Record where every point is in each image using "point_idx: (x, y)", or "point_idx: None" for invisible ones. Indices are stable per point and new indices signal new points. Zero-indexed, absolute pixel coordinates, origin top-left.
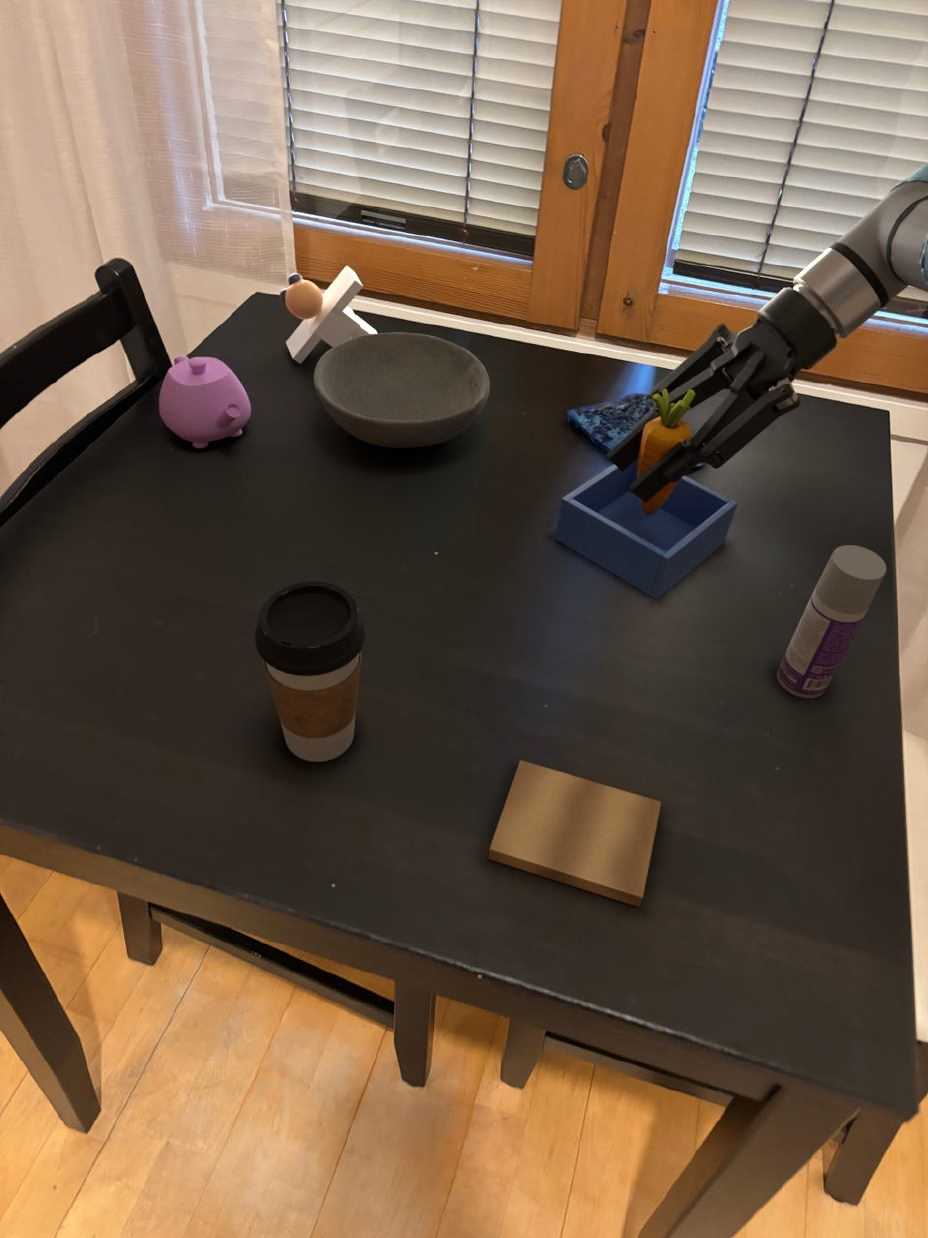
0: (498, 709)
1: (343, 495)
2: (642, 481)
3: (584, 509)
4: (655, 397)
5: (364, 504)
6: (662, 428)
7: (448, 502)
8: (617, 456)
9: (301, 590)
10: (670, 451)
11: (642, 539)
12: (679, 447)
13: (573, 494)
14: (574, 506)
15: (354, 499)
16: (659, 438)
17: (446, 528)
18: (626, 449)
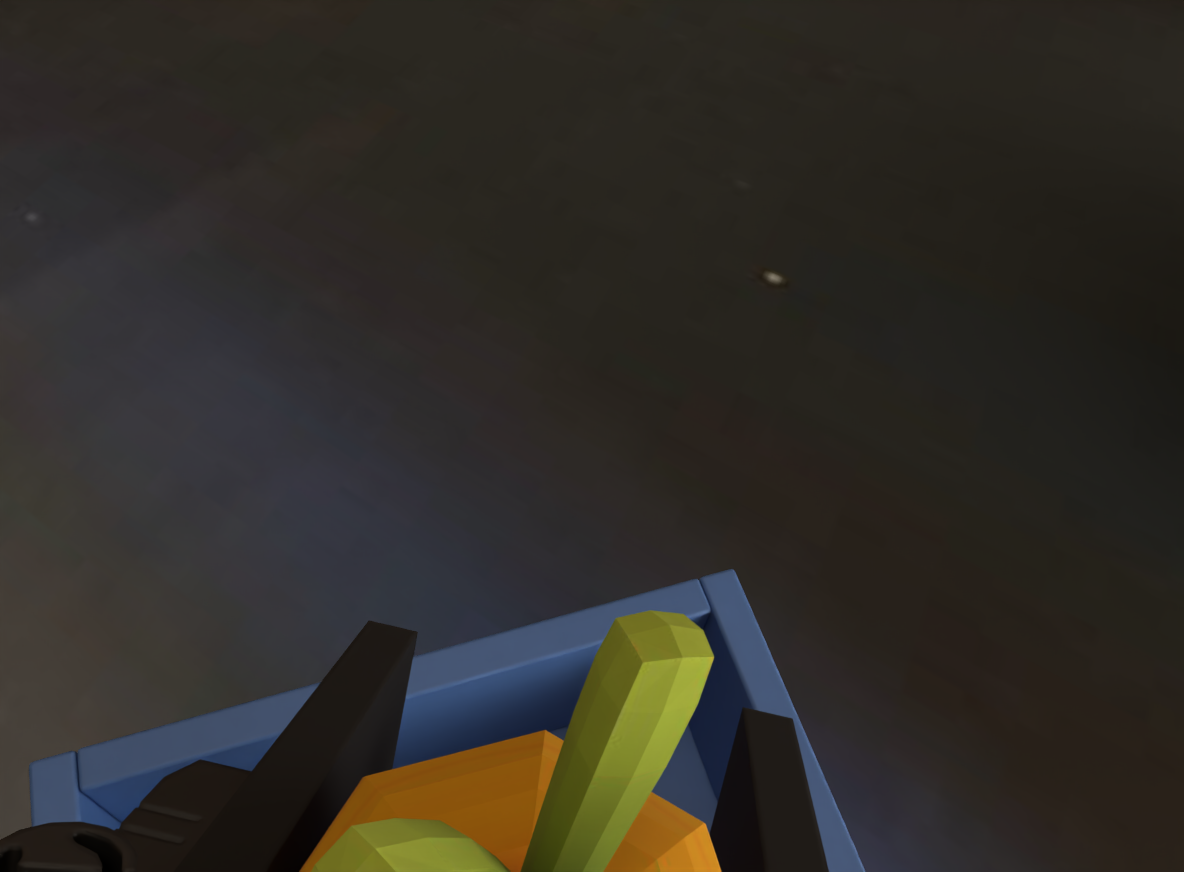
0: (115, 130)
1: (1134, 192)
2: (341, 661)
3: (605, 612)
4: (647, 614)
5: (1076, 218)
6: (478, 825)
7: (1035, 428)
8: (735, 767)
9: None
10: (272, 827)
11: (241, 738)
12: (190, 867)
13: (741, 636)
14: (654, 591)
15: (1108, 207)
16: (419, 765)
17: (888, 356)
18: (738, 818)
